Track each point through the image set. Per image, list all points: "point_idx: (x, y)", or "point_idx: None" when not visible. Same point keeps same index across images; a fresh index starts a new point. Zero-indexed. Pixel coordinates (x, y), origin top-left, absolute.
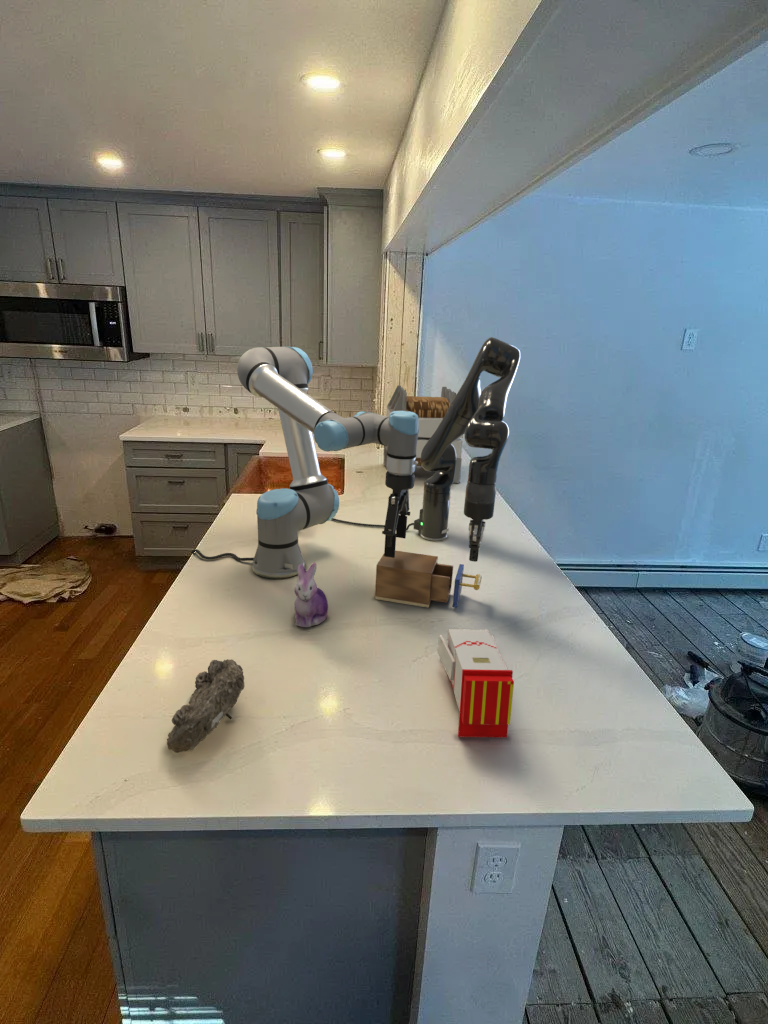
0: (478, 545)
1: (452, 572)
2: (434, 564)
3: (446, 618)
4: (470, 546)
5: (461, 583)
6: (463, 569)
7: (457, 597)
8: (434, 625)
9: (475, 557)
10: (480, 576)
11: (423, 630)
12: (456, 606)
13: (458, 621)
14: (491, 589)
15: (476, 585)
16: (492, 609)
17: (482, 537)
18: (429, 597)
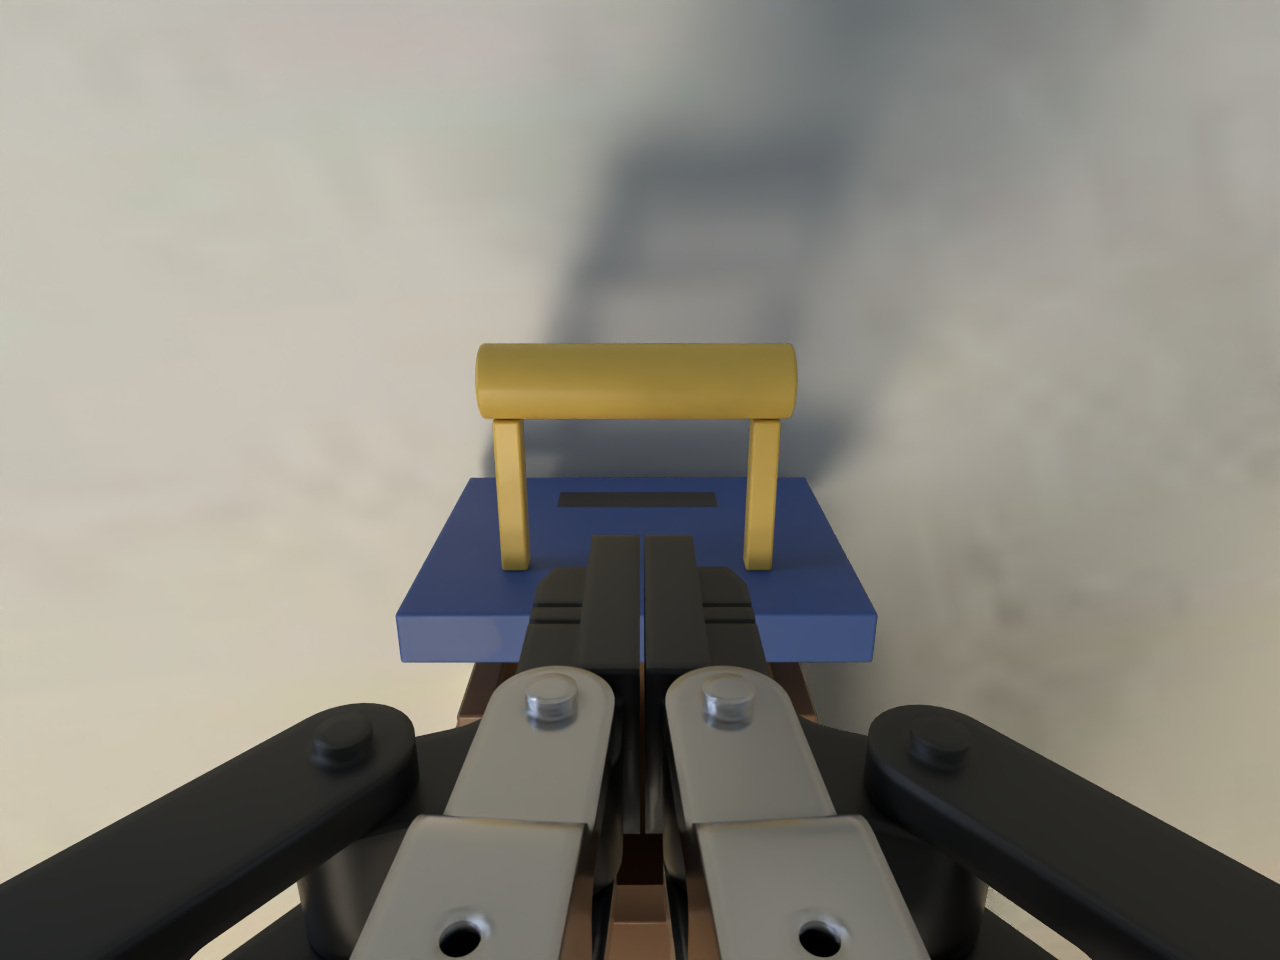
0: (1189, 848)
1: (501, 670)
2: (633, 925)
3: (938, 523)
4: (1016, 944)
5: (766, 555)
6: (419, 581)
7: (826, 520)
8: (1062, 590)
9: (751, 609)
10: (521, 363)
11: (1143, 648)
12: (807, 484)
13: (969, 429)
14: (251, 189)
15: (793, 388)
16: (675, 147)
17: (585, 839)
18: (818, 723)
